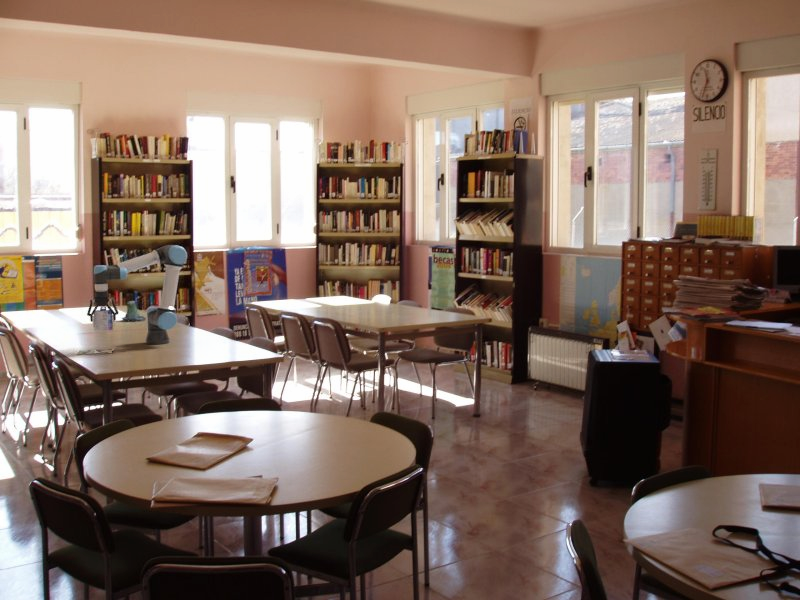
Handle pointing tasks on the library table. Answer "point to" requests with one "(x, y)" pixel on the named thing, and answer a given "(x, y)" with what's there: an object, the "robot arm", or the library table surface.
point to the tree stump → (133, 313)
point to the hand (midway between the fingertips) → (103, 326)
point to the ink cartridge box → (103, 319)
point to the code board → (90, 351)
